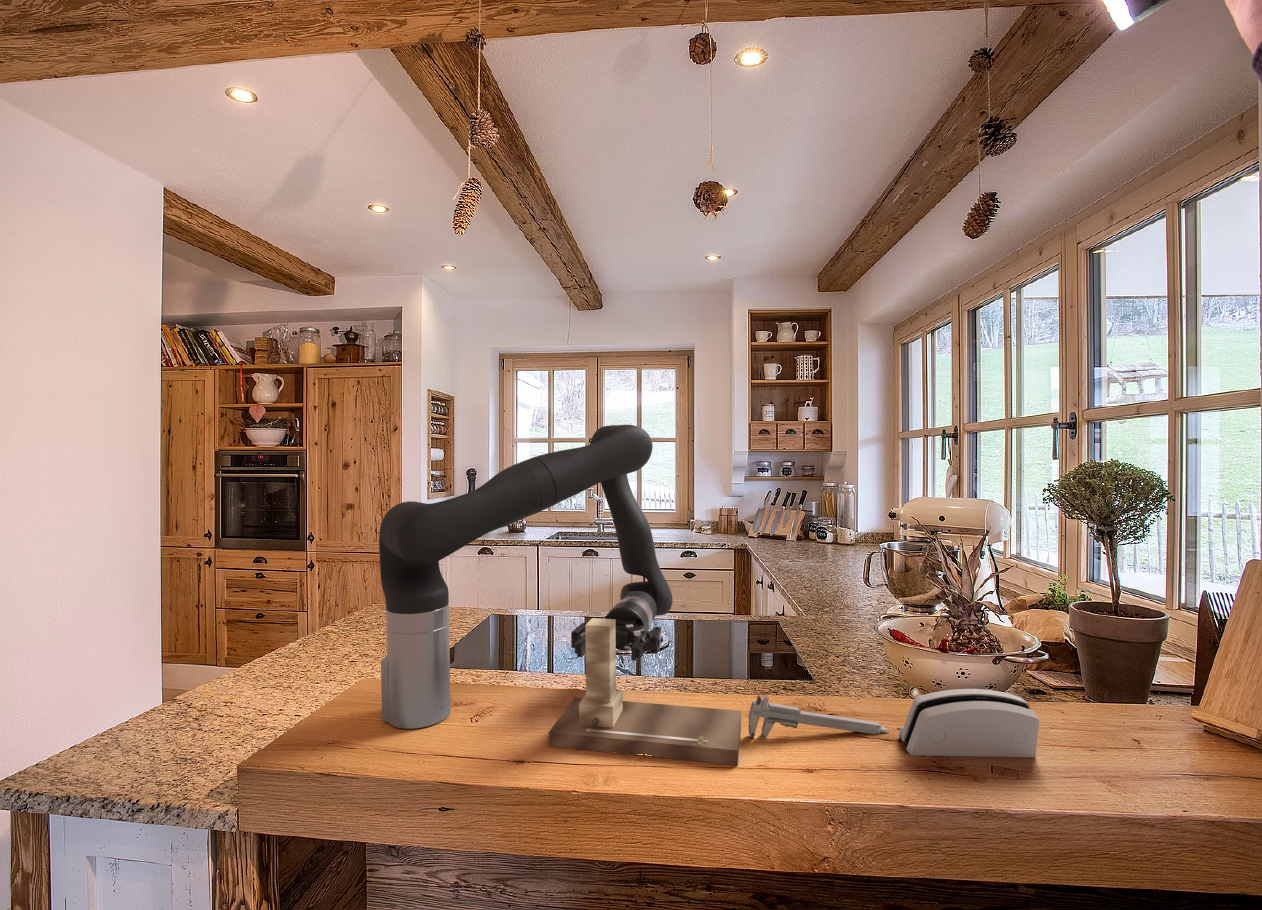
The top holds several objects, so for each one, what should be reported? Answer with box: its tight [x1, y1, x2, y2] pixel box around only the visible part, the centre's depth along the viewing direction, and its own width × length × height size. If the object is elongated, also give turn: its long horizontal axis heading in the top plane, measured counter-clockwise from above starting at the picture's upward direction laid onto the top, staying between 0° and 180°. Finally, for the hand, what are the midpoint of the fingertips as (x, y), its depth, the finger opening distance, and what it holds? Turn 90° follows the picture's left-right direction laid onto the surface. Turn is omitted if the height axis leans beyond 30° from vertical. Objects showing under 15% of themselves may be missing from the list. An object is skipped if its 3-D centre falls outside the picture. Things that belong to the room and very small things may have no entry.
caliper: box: [748, 693, 890, 739], centre depth 89 cm, size 20×1×6 cm, turn 94°
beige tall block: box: [579, 617, 624, 728], centre depth 90 cm, size 5×7×14 cm
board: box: [548, 696, 742, 766], centre depth 89 cm, size 26×12×2 cm, turn 78°
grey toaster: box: [897, 688, 1040, 758], centre depth 84 cm, size 17×5×10 cm, turn 87°
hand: (606, 652), depth 94 cm, fingers open, 8 cm apart
